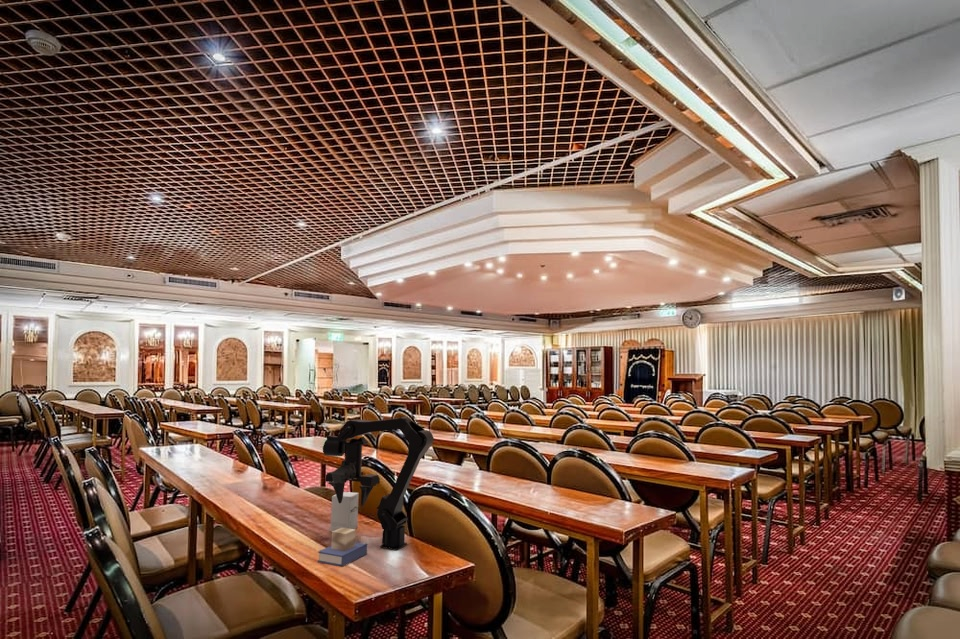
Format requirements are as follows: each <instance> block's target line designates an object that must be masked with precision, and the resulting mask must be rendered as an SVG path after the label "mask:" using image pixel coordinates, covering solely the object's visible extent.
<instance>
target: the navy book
mask: <svg viewBox="0 0 960 639" xmlns="http://www.w3.org/2000/svg"><path fill="white" fill-rule="evenodd" d="M367 552H368V544H367V543H362V542H356V541H355V547H353V548H351V549H349V550H346V551H340V550H334V549H331V545H329V546H327V547H325V548H323V549H321V550H318V551H317V553H318V560H317V563H321V564H326V565H332V566H336V567H337V566H338V567H344V565H345V566H346V564H347V565H349V564H350V563H352V562H354V561H356V560H358V559H361V558H362V557H364V556H366V555H367V554H368V553H367Z"/></svg>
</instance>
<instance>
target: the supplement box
mask: <svg viewBox="0 0 960 639" xmlns="http://www.w3.org/2000/svg"><path fill="white" fill-rule="evenodd" d="M359 494H360V493H359V492H349V491H344V492H343V499H342V503H339V502H338V499H337V496H336V494H334V495H332V496H331V508H330V509H331V510H330V511H331V512H330V528H329V530H330V533H332V532H333V531H335V530H338V529H340V528H349V529H357V528H358V520H359V519H358V515H359Z"/></svg>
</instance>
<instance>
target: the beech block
mask: <svg viewBox="0 0 960 639" xmlns="http://www.w3.org/2000/svg"><path fill="white" fill-rule="evenodd" d="M356 529H357V528H356ZM356 529H349V528H340V529H338V530H335V531H333V532H331V543H330V544H331V545H330V546H331V549H334V550H340V551H346V550H349V549H351V548H353V547H355V542H356Z"/></svg>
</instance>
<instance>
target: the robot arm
mask: <svg viewBox="0 0 960 639" xmlns="http://www.w3.org/2000/svg"><path fill="white" fill-rule="evenodd" d="M395 430H399V431H401V432H402V435H403V436H404V437H405V438H406V439H407V440H408V441H409V443H408V448H407V456H406V458H405V461H404V463H403V465H402V466H401V469H400V472H399V473H398V476H397V478H396V480H395V483H394V485H393V487H392V489H391V492H390V493H389V494H386V495H384V496H382V497H381V498H380V501H379V503H378V504H379V505H377V507H376V510H377V511H376V516H377V518H378V520H379V523H380V526H381V529H382V534H381V536H382V538H381V544H380V548H383V549H389V550H395V551H398V550H400V549H402V548H403V547H405V546H407V545H408V542H405V541H406V540H405V538H406V537H405V535H406V526H405V525H406V524H407V522H408V519H409V518H408V516H407V515H406V514H405V512H404V511H403V507H404V496H405V494H406V492H407V490H408V487H409V486H410V483H411V481H412V479H413V477H414V475H415V472H416V470H417V468H418V466H419V463H420V461H421V459H422V458H423V457H424V455H425V454H426V453H427V452H428V451H429V449H430V448H431V447H432V445H433V443H434V441H435V440H434V436H433V433H432V432H431V431H430V430H427V429H425V428H424V427H422V426H421V425H419V424H418V423H416V422H414V421H413V420H412V418H410V417H408V416H401V417H397V418H389V419H388V418H387V419H379V420H378V419H377V420H368V419H352V420H347V421H346V422H344V425H343V427H342V430H341V431H340V432H339V434H338V435H337V436H336V435H327V436H326V440H325V441H324V444H323V446H322V453H323V455H325V456H327V457H328V456H329V457H342V456H343V455H344V459H343V460H342V461H341V462H340V463H341V466H339V467H337V468H336V469H335V470H333V471H329V472H327V473H326V475H325V476H324V478H325V480H324V482H328V485H330V486H331V487H332V488H333V489H334V493H335V495H336V496H337V499H338V502H339V503H342V499H343V492H345V484H346V483H347V482H358V483H360V484H361V485H359V486H358V487H359V489H360V491H361V492H360V506H361V507H364V506H365V505H366V503H367V500H368V498H369V496H370V493H371V491H372V490H373V488H374V487H375V486H377V485H379V484H380V483H381V481H380V480H381V478H380V476H379V475H378V474H373V473H371V474H370V473H369V474H368V473H367V474H366V475H364V471H362V464H364V463H365V460H364V458H362V456H363V455H362V454H363V445H367V444H368V443H369V441H368V440H367V439H366V438H365V436H364V435H367V434H370V433H374V432H385V431H395ZM356 437H359V438H356Z"/></svg>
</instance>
